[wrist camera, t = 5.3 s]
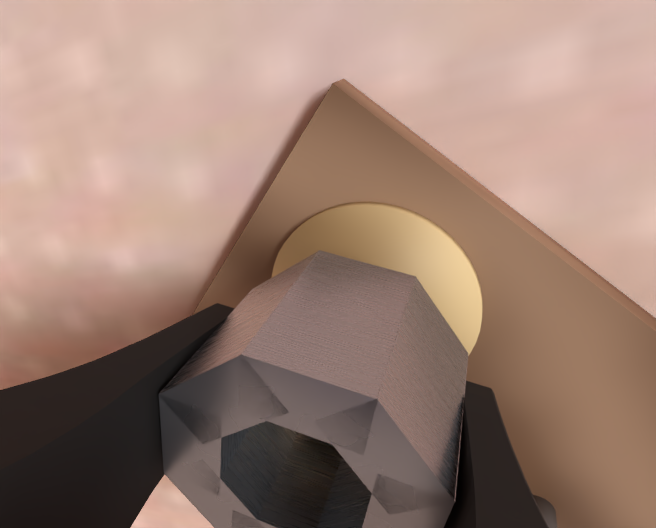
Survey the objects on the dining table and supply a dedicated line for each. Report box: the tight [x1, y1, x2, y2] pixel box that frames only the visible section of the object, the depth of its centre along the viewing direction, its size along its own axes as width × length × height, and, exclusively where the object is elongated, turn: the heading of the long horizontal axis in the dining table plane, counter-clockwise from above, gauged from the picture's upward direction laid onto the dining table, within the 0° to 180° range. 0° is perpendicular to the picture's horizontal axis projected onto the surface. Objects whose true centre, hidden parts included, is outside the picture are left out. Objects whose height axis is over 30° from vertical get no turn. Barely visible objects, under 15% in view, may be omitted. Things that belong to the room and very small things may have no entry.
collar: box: [159, 250, 468, 528], centre depth 11 cm, size 6×6×4 cm
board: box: [193, 79, 656, 528], centre depth 14 cm, size 12×18×6 cm, turn 57°
